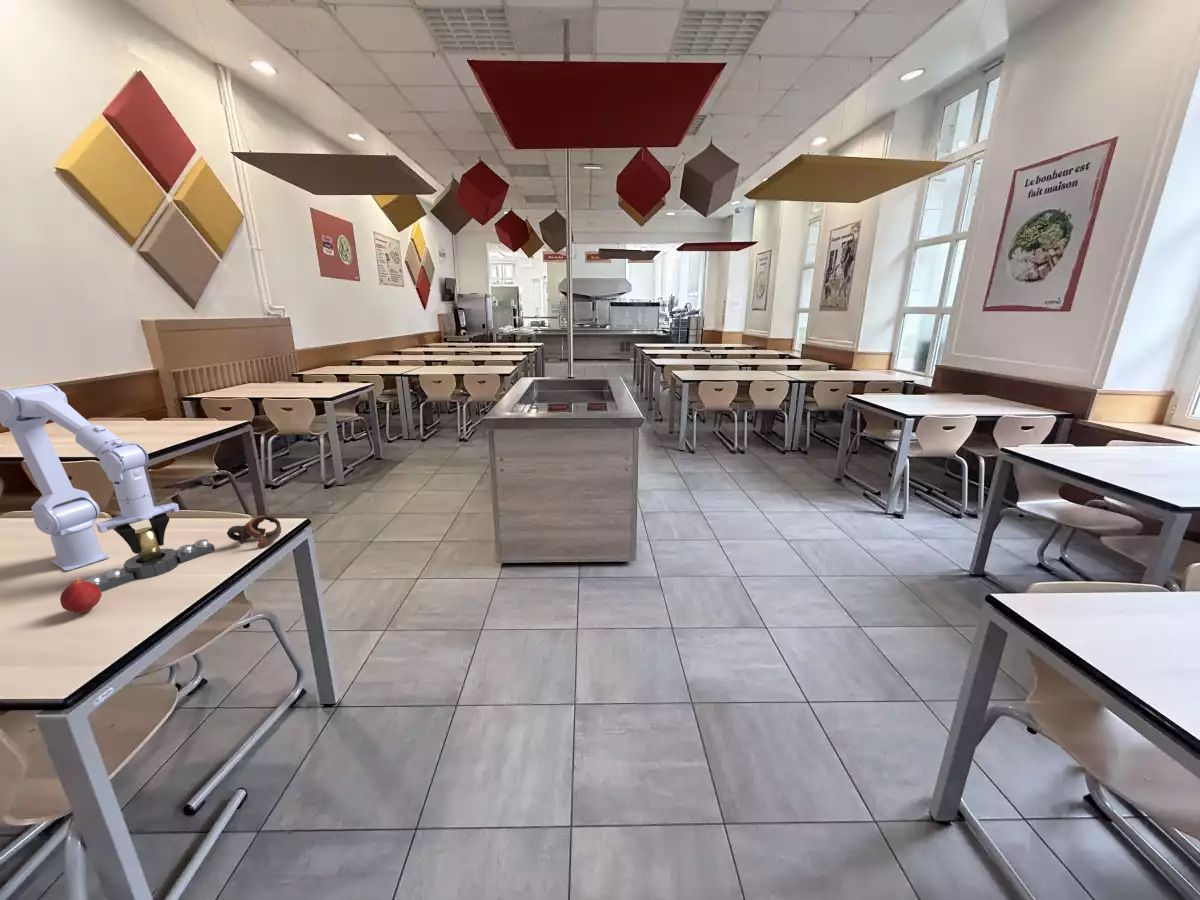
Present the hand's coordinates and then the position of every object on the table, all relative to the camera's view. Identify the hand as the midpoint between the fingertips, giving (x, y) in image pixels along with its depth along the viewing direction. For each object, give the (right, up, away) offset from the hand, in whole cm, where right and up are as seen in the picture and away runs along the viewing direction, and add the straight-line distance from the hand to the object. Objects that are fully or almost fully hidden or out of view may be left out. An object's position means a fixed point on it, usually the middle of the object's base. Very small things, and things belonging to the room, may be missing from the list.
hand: (148, 548), depth 118 cm
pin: (0, -2, +1) cm, 2 cm away
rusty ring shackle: (+15, -2, +16) cm, 22 cm away
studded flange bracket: (0, -5, +2) cm, 6 cm away
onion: (+2, -10, -16) cm, 19 cm away
